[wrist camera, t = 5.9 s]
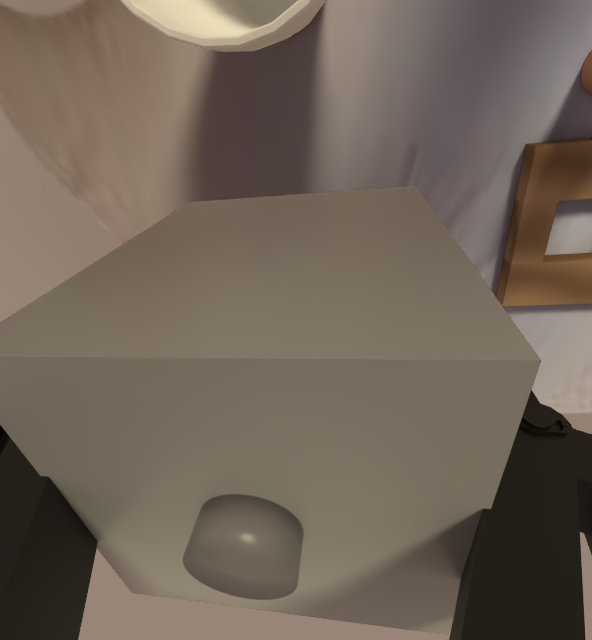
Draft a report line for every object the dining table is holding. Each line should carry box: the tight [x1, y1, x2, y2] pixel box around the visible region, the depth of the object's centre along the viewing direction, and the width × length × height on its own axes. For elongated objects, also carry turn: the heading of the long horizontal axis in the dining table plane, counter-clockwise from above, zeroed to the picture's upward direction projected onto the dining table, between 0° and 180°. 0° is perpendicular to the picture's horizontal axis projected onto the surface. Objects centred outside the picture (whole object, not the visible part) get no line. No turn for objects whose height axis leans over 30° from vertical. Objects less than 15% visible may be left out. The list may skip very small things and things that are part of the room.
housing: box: [0, 186, 541, 635], centre depth 10 cm, size 8×8×10 cm
